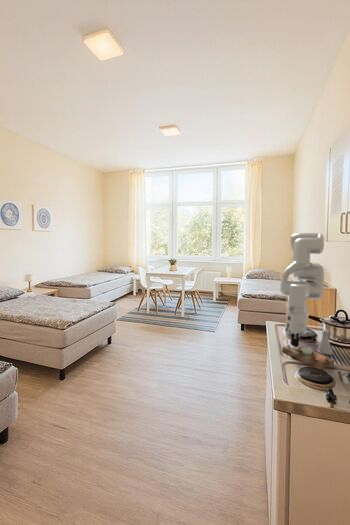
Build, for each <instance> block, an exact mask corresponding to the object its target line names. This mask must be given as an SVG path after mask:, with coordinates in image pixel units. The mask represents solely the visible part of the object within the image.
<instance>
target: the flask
mask: <svg viewBox="0 0 350 525" xmlns="http://www.w3.org/2000/svg"><path fill="white" fill-rule="evenodd" d="M321 335H322V336H321V337H322V338H321V339H320V342H319V344H318V346H317V348H318V350H319V351H320V352H321V353H324V354H323V355H325V354H326V355H325V356H330V355H331V356H333V350H332V346H331V343H330V340H329V335H330V332H327V331H322V332H321Z"/></svg>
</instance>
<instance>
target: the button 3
mask: <svg viewBox="0 0 350 525" xmlns="http://www.w3.org/2000/svg"><path fill="white" fill-rule="evenodd" d="M324 356H325V355H324ZM324 356H321V355H316V357H315V359H316V360H318V361H320V362H325V361H326V358H325V357H324Z"/></svg>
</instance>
